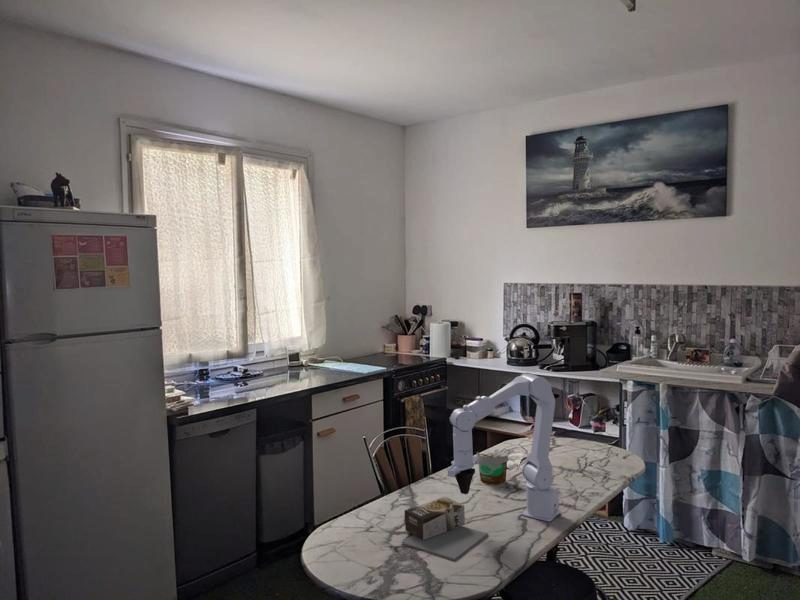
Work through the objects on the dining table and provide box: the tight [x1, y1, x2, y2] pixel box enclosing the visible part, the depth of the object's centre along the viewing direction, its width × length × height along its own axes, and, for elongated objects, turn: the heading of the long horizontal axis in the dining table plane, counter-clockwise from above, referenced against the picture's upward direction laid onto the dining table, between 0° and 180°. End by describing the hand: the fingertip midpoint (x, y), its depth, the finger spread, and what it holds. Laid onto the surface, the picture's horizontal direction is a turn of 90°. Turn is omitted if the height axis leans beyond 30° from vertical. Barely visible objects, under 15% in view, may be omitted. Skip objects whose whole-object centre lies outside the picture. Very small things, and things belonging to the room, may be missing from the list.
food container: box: [475, 451, 509, 486], centre depth 214 cm, size 12×6×10 cm, turn 62°
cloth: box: [507, 452, 528, 471], centre depth 236 cm, size 26×14×2 cm, turn 135°
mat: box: [400, 525, 489, 562], centre depth 171 cm, size 18×18×1 cm
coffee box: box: [404, 496, 466, 540], centre depth 177 cm, size 9×6×16 cm
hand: (464, 493), depth 179 cm, fingers closed
